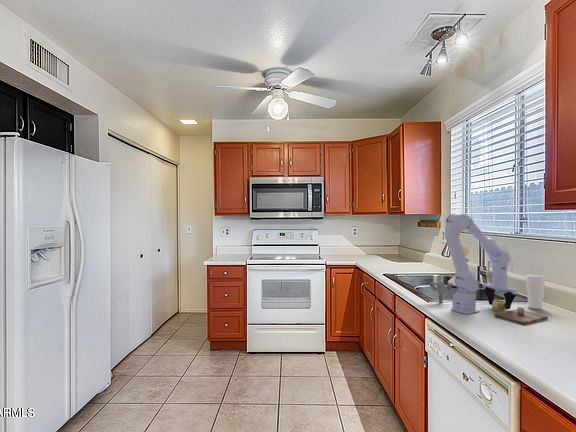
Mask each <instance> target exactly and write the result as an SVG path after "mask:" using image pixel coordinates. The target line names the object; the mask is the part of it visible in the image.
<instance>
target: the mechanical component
mask: <svg viewBox="0 0 576 432" xmlns="http://www.w3.org/2000/svg"><path fill="white" fill-rule="evenodd" d="M429 287H430V289H431V290H432V291H435V292H437V294H438V303H439V304H440V305H441V304H443V299H444V298H443V295H444V292H450V291H451V289H452V287H453V286H452V283H448V282H447V284H445V282H443V281H442V282H441V281H436V282H435V281H434V282H433V281H432V282H430V283H429Z"/></svg>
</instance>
